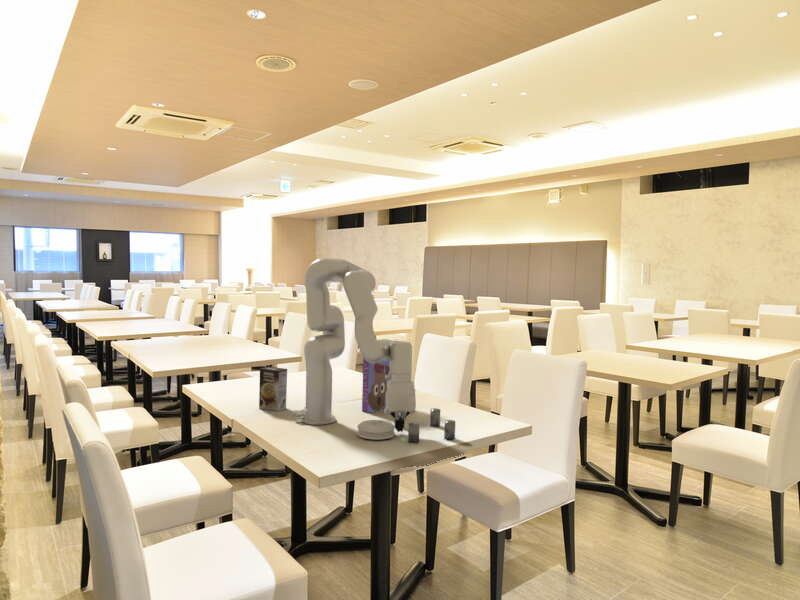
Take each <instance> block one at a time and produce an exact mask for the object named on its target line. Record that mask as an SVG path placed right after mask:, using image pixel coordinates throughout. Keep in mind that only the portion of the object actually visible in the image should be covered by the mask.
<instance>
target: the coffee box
mask: <svg viewBox="0 0 800 600" xmlns="http://www.w3.org/2000/svg"><path fill="white" fill-rule="evenodd" d="M287 385H288V368H282V367H273V366H265V367H261V368H259V396H258V397H259V398H258V409H261V410H265V411H274V412H280V411H282V410H284V409H287V389H288V388H287Z"/></svg>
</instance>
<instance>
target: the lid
mask: <svg viewBox="0 0 800 600" xmlns="http://www.w3.org/2000/svg"><path fill="white" fill-rule="evenodd" d="M357 428H358V429H357V436H358V437H360V438H362V439H367V440H387V439H390V438H393V437H394V436H395V435H396V433H395V430H396V429H395V424H393V423H392V422H390V421H388V420H383V419H368V420H363V421H361V422H360V423H359V424H358V425H357Z"/></svg>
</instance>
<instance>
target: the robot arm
mask: <svg viewBox="0 0 800 600" xmlns="http://www.w3.org/2000/svg"><path fill="white" fill-rule="evenodd" d="M331 282H332V283H342V286H343V290H344V292H345V295H346V298H347V300H348V302H349V306H350V307H351V310H352V312H353V314H354V315H353V316H354V336H355V341H356V343H357V347H358V349H359V352H360V354H361V356H362V357H364V359H365V360H366V361H368V362H369V363H378V362H382V361H386V360H390V372H389V374H388V375H385V378H386V379H389V380H390V381H388V383H387V387H386V394H385V408H384V414H385V415H388V416H392V418H393V419H394V426H395V429H394V430H396V432H398V433H399V432H401V433H402V432H403V431H404V429H405V424H404V420H405V421H406V418H407V417H409V415H412V414H415V413H416V408H417V404H416V403H417V400H416V397H417V396H416V388H415V387H416V386H415V382H414V381H413V380H412V373H413V370H412V369H413V368H412V367H413V365H412V364H413V345H412V343H411V342H409V341H406V340H404V341H401V340H400V341H399V340H398V341H395V340H392V339H388V338H383V339H382V338H381V339H377V337H376V334H375V331H374V325H373V323H374V318H375V317H376V315H377V313H378V310H379V309H378V306H377V303H376V300H375V299H374V296H373V293H372V292H374V290H375V288H376V285H377V284H376V278H375V276H374V275H373V273H371V272H370V271H368V270H367V269H365V268H362V267H361V266H358V265H356V264H354V263H352V262H350V261H348V260H345V259H342V258H341V259H340V258H332V257H331V258H330V257H329V258H328V257H326V258H325V257H324V258H319V259H316V260H314V261H313V262H311V263H310V264H309V265H308V267H307V268H306V271H305V274H304V287H305V294H306V295H305V297H306V301H305V302H306V321H307V322H306V323H307V326H308V328H309V330H311V331H312V332H317V333H318V332H322V334H319V335H314V336H312V337H310V338H309V339H308V340H307V341H306V342H305V344H304V349H303V355H304V359H305V369H306V371H305V406H304V407H303V408H301V409H300V410H297V409H296V410H295V409H294V410H292V416H293V417H294V416H296V417H297V418H298V417H300V418H301V419H300V421H301V422H302V423H304V424H306V425H312V426H322V425H323V426H325V425H329V424H333V423H334V422H336V416H335V415H333V414H332V411H333V410H332V407H333V406H332V404H333V403H332V402H333V368H332V365H331V362H330V361H331V360H332V359H337V358H339V357H340V356H342V354H343V353H344V351H345V347H346V344H345V343H346V338H345V337H346V336H345V317H344V314H343V312H342V310H341V309H340V308H339V306H336V305H332V304H331V303H330V302H331V298H330V297H331V296H330V291H329V288H328V286H327V283H331ZM398 412H401V415H400V418H399V414H398Z"/></svg>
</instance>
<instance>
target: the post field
mask: <svg viewBox="0 0 800 600" xmlns="http://www.w3.org/2000/svg"><path fill="white" fill-rule="evenodd" d="M429 412H430V414H429V415H430V417H429V420H430V421H429V427H432V428H439V426H440V427H441V409H440V408H437V407H433V408H430V411H429ZM398 414H399V418H400V415H401V412H398ZM405 422H406V419H405V420H404V425H405ZM420 427H421V426H420V423H418V422H409V423H408V432H407V433H408V434H407V437H408V438H407V443H408V442H409V443H408V444H411V443H417V444H419V443H420ZM443 433H444V434H443V439H444V440H445V439H446V440H445V441H449V440H452V441H455V440H456V420H453V419H446V420H444V432H443ZM454 439H455V440H454Z"/></svg>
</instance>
